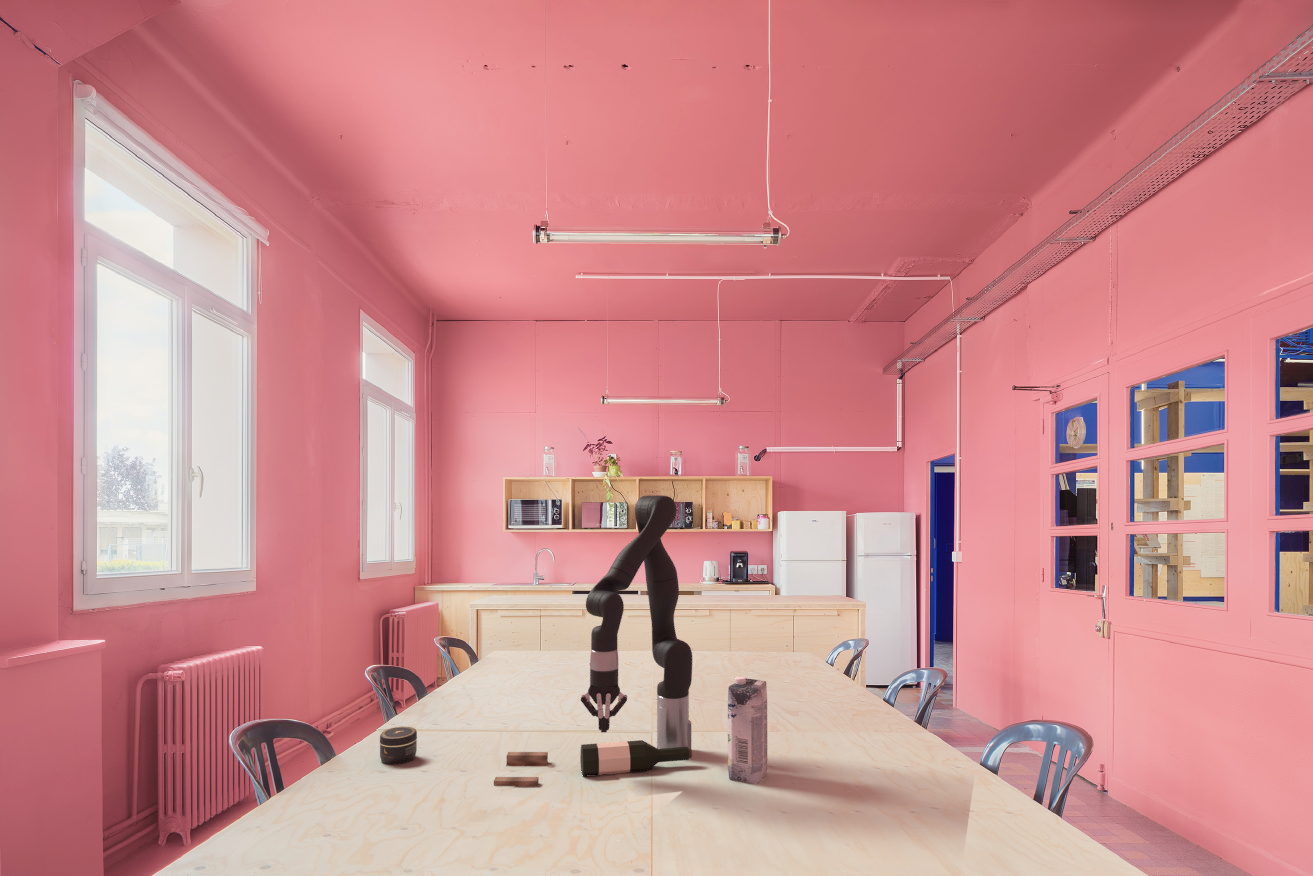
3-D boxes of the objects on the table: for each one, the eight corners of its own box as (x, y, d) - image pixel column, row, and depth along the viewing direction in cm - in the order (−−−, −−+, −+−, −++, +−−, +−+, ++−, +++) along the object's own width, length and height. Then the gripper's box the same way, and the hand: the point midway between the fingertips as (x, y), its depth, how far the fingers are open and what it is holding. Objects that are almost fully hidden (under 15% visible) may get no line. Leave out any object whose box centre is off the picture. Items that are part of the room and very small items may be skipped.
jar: (371, 763, 210) (371, 735, 210) (396, 750, 219) (396, 724, 220) (400, 769, 206) (400, 740, 207) (424, 755, 216) (424, 728, 216)
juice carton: (770, 777, 201) (769, 675, 202) (758, 793, 191) (757, 685, 192) (738, 771, 205) (737, 671, 205) (725, 786, 195) (724, 681, 196)
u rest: (547, 762, 210) (547, 752, 210) (537, 793, 192) (537, 781, 192) (508, 762, 210) (508, 752, 210) (493, 793, 192) (493, 781, 192)
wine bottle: (583, 778, 196) (695, 769, 202) (582, 744, 200) (692, 736, 205) (581, 778, 204) (689, 769, 210) (579, 745, 207) (686, 737, 213)
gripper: (629, 662, 205) (629, 726, 205) (580, 662, 205) (580, 726, 205) (628, 670, 198) (628, 736, 197) (578, 670, 198) (577, 736, 197)
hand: (603, 731), depth 201 cm, fingers closed
